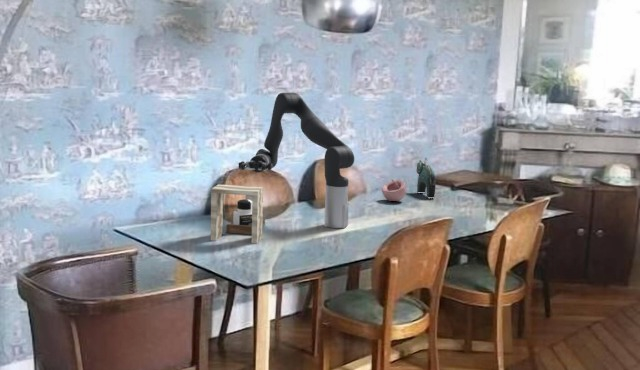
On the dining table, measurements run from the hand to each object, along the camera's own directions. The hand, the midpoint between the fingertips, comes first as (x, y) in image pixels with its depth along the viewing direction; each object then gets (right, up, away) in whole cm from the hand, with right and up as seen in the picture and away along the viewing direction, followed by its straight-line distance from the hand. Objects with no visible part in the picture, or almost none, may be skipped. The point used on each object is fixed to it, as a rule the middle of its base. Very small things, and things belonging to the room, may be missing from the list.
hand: (252, 167), depth 296 cm
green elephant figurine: (+84, -13, +69) cm, 110 cm away
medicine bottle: (-1, -25, -18) cm, 31 cm away
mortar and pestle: (+65, -16, +51) cm, 84 cm away
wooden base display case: (-1, -25, -16) cm, 29 cm away
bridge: (-3, -27, -32) cm, 42 cm away
